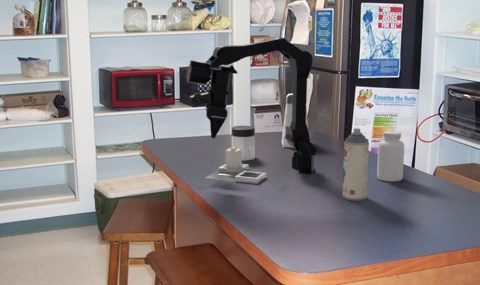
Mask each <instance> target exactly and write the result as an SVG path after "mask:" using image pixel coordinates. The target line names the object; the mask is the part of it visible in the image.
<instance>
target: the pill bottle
mask: <svg viewBox="0 0 480 285" xmlns="http://www.w3.org/2000/svg"><path fill="white" fill-rule="evenodd" d="M382 134H383V135H382V136H383V137H382V140H380V141H379V142H378V145H377V146H378V147H377V168H376V169H377V170H376V178H377V179H378V180H380V181H384V182H391V183H392V182H400V181H402V180H403V177H404V163H405V161H404V160H405V144H404V142H403V141H402V140H401V137H402V133H401V132H400V131H396V130H394V131H393V130H387V131H386V130H385V131H383V133H382Z"/></svg>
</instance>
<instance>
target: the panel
mask: <svg viewBox="0 0 480 285" xmlns="http://www.w3.org/2000/svg"><path fill="white" fill-rule="evenodd" d="M275 173H277V172H276V171H274V170H265V169H255V168H250V166H249V164H246V163H242V167H241V168H239V169H234V168H226V163H225V164H223V165H221V166H218V170H216V171H214V172H212V173H211V174H208V175H207V176H205V177H204V180H205V179H206V180H216V181H223V182H224V181H225V182H234V183H235V182H236V183H244V184H252V185H260V184H261V183H262V182H264V181H265V180H266V179H268V178H269V177H270V176H271V175H273V174H275Z"/></svg>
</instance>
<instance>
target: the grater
mask: <svg viewBox="0 0 480 285" xmlns="http://www.w3.org/2000/svg"><path fill="white" fill-rule="evenodd" d="M289 96H293V93H288V94H287V95H286V98H285V99H286V100H285V102H286V104H285V110H284V118H283V119H284V120H283V127H282V134H281V145H283V146H282V148H292V146H290V145H289V144H288V142H287V139H286V138H285V136H286V126H288V127H290V125H291V122H292V103H288V97H289ZM308 121H309V120H308V111H307V108H306V125H307V128H308V129H309V122H308Z"/></svg>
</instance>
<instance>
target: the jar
mask: <svg viewBox="0 0 480 285" xmlns="http://www.w3.org/2000/svg"><path fill="white" fill-rule="evenodd" d="M255 133H256V129H255V126H253V125H252V126H251V125H234V126H231V148H232V147H237V149H242V162H243V161H244V162H245V161H250V160H255V159H256V157H255V156H256V155H255V154H256V150H255V149H256V147H255V144H256V139H255V138H256V137H255V135H256V134H255Z"/></svg>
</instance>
